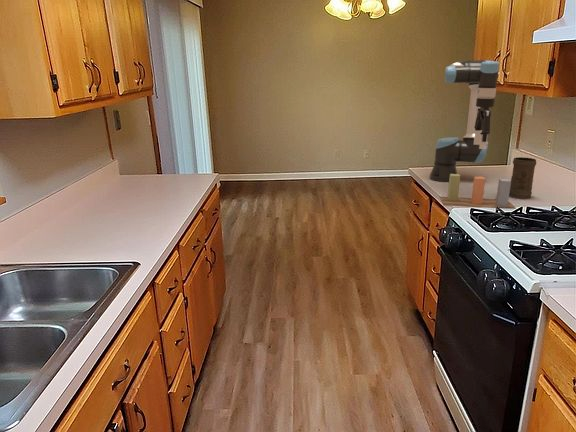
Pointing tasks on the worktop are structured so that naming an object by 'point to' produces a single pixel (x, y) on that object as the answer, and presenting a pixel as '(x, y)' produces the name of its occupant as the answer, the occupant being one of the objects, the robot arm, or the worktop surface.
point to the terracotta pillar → (478, 190)
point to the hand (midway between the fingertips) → (479, 146)
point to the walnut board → (467, 203)
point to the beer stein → (522, 178)
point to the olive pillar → (453, 187)
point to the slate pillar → (503, 192)
